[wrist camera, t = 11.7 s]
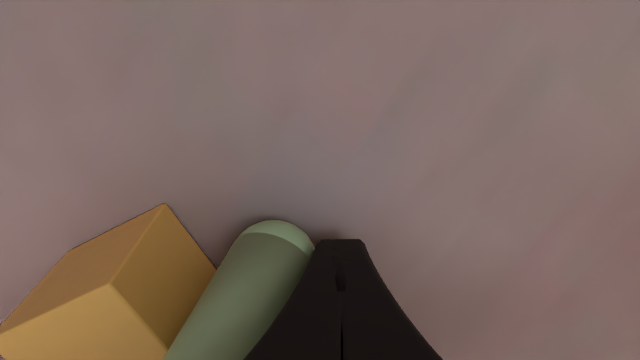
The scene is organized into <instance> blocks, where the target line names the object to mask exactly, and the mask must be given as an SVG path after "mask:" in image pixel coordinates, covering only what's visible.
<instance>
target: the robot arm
mask: <svg viewBox="0 0 640 360" xmlns="http://www.w3.org/2000/svg"><path fill="white" fill-rule="evenodd" d="M243 360H443V359H442V358H441V357H440V356H439V355H438V354H437V353H436V351H435V350H434V349H433V348H432V347H431V346H430V345H429V343H428V342H427V341H426V340H425V339H424V337H423V336H422V335H421V334H420V333H419V331H418V330H417V329H416V327H415V326H414V325H413V324H412V322H411V321H410V320H409V318H408V317H407V316H406V314H405V313H404V312H403V310H402V309H401V307H400V306H399V305H398V303H397V302H396V300H395V299H394V297H393V296H392V294H391V293H390V291H389V290H388V288H387V286H386V285H385V283H384V282H383V280H382V278H381V277H380V275H379V273H378V272H377V270H376V268H375V266H374V264H373V262H372V260H371V258H370V256H369V254H368V252H367V249H366V247H365V244H364V243H363V242H362V241H361V240H360V239H336V240H320V241H319V242H318V243H317V244H316V247H315V250H314V253H313V255H312V258H311V260H310V262H309V264H308V266H307V268H306V270H305V272H304V274H303V276H302V277H301V279H300V281H299V283H298V284H297V286H296V288H295V289H294V291H293V293H292V294H291V296H290V298H289V299H288V301H287V302H286V304H285V305H284V307H283V308H282V310H281V311H280V313H279V314H278V316H277V317H276V318H275V320H274V321H273V323H272V324H271V326H270V327H269V328H268V330H267V331H266V332H265V334H264V335H263V336H262V337H261V339H260V340H259V341H258V343H257V344H256V345H255V346H254V348H253V349H252V350H251V351H250V352H249V353H248V355H247V356H246V357H245V358H244V359H243Z"/></svg>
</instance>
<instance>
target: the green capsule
mask: <svg viewBox="0 0 640 360" xmlns="http://www.w3.org/2000/svg"><path fill="white" fill-rule="evenodd" d="M314 250H315V247H314V245H313V243H312V242H311V240H310V238H309V237H308V236H307V235H306V233H305V232H304V231H302V230H301V229H300V228H298V227H297V226H295V225H293V224H291V223H288V222H285V221H281V220H267V221H261V222H259V223H256V224H254V225H252V226H250V227H248V228H247V229H246V230H245V231H243V232H242V233H241V234H240V235H239V236H238V237H237V239H236V240H235V241H234V243H233V244H232V246H231V248H230V249H229V251H228V253H227V254H226V256H225V258H224V259H223V261H222V262H221V264H220V266H219V267H218V269H217V271H216V272H215V274H214V276H213V277H212V279H211V281H210V282H209V284H208V286H207V287H206V289H205V290H204V292H203V294H202V295H201V297H200V299H199V300H198V302H197V304H196V305H195V307H194V309H193V310H192V312H191V314H190V315H189V317H188V318H187V320H186V322H185V323H184V325H183V327H182V328H181V330H180V332H179V333H178V335H177V337H176V338H175V340H174V342H173V343H172V345H171V346H170V348H169V350H168V351H167V353H166V355H165V356H164V358H163V360H243V359H244V358H245V357H246V356H247V355H248V353H249V352H250V351H251V350H252V349H253V348H254V346H255V345H256V344H257V343H258V341H259V340H260V339H261V337H262V336H263V335H264V334H265V332H266V331H267V330H268V328H269V327H270V326H271V324H272V323H273V321H274V320H275V318H276V317H277V316H278V314H279V313H280V311H281V310H282V308H283V307H284V305H285V304H286V302H287V301H288V299H289V298H290V296H291V294H292V293H293V291H294V289H295V288H296V286H297V284H298V283H299V281H300V279H301V277H302V276H303V274H304V272H305V270H306V268H307V266H308V264H309V262H310V260H311V258H312V255H313V253H314Z"/></svg>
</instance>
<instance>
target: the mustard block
mask: <svg viewBox="0 0 640 360" xmlns="http://www.w3.org/2000/svg"><path fill="white" fill-rule="evenodd" d="M216 271H217V270H216V269H215V267H214V266H213V265H212V263H211V262H210V261H209V260H208V258H207V257H206V256H205V254H204V253H203V252H202V250H201V249H200V248H199V246H198V245H197V244H196V242H195V241H194V240H193V239H192V237H191V236H190V235H189V233H188V232H187V231H186V229H185V228H184V227H183V225H182V224H181V223H180V221H179V220H178V219H177V218H176V216H175V215H174V214H173V212H172V211H171V210H170V208H169V207H168V206H167V204H165V203H164V204H161V205H159V206H157V207H155V208H153V209H151V210H149V211H147V212H145V213H144V214H142V215H140V216H138V217H136V218H134V219H132V220H130V221H128V222H126V223H124V224H122V225H120V226H118V227H116V228H114V229H112V230H110V231H108V232H106V233H104V234H102V235H100V236H98V237H96V238H94V239H92V240H90V241H88V242H86V243H84V244H82V245H80V246H78V247H76V248H74V249H72V250H70V251H68V252H67V253H66V254H65V255H64V257H63V258H62V259H61V260H60V261H59V262H58V263H57V264H56V265H55V266H54V268H53V269H52V270H51V271H50V272H49V273H48V274H47V275H46V276H45V277H44V278H43V280H42V281H41V282H40V283H39V284H38V285H37V286H36V287H35V288H34V289H33V290H32V292H31V293H30V294H29V295H28V296H27V297H26V298H25V299H24V300H23V301H22V303H21V304H20V305H19V306H18V307H17V308H16V309H15V310H14V311H13V312H12V313H11V315H10V316H9V317H8V318H7V319H6V320H5V321H4V322H3V323H2V324H1V326H0V355H2V356H3V357H4V358H5V359H6V360H163V358H164V356H165V355H166V353H167V351H168V350H169V348H170V346H171V345H172V343H173V342H174V340H175V338H176V337H177V335H178V333H179V332H180V330H181V328H182V327H183V325H184V323H185V322H186V320H187V318H188V317H189V315H190V314H191V312H192V310H193V309H194V307H195V305H196V304H197V302H198V300H199V299H200V297H201V295H202V294H203V292H204V290H205V289H206V287H207V286H208V284H209V282H210V281H211V279H212V277H213V276H214V274H215V272H216Z"/></svg>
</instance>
